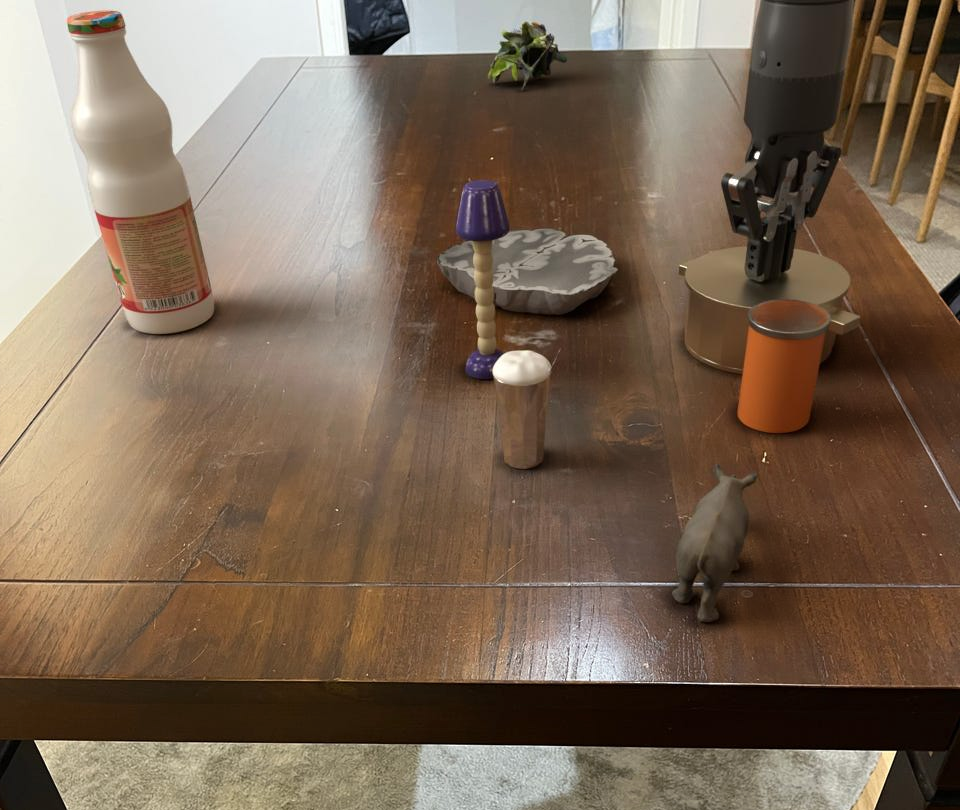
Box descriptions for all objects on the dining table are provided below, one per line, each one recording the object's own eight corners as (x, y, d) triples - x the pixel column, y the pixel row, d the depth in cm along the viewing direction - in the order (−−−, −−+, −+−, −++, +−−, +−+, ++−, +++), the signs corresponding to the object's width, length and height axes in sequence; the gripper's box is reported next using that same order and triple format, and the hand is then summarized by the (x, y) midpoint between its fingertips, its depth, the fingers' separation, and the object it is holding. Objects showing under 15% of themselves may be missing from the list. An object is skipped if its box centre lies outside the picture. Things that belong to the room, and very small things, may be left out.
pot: (727, 293, 106) (734, 235, 102) (886, 352, 94) (901, 289, 90) (634, 333, 100) (638, 273, 96) (792, 401, 88) (803, 337, 84)
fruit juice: (181, 341, 103) (100, 28, 85) (109, 329, 106) (15, 24, 88) (233, 305, 110) (169, 6, 91) (163, 294, 113) (87, 3, 94)
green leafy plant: (536, 113, 181) (576, 49, 174) (525, 117, 172) (567, 50, 165) (485, 72, 179) (524, 6, 173) (472, 74, 170) (512, 4, 164)
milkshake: (552, 478, 81) (552, 362, 74) (489, 469, 82) (483, 355, 76) (567, 449, 84) (568, 336, 77) (506, 441, 85) (502, 329, 79)
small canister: (767, 390, 90) (782, 292, 84) (827, 416, 86) (847, 315, 80) (719, 415, 87) (731, 315, 81) (778, 443, 83) (796, 340, 77)
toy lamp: (458, 361, 97) (446, 180, 86) (504, 353, 98) (498, 172, 87) (473, 383, 94) (462, 197, 82) (520, 374, 94) (516, 188, 83)
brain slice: (649, 273, 111) (651, 246, 109) (571, 333, 101) (571, 304, 99) (500, 243, 120) (500, 217, 118) (414, 295, 109) (412, 268, 107)
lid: (754, 245, 101) (762, 181, 97) (881, 286, 92) (897, 218, 88) (650, 287, 95) (655, 220, 91) (777, 336, 86) (788, 265, 82)
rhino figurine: (760, 515, 76) (772, 445, 72) (723, 628, 66) (734, 555, 62) (706, 505, 77) (714, 436, 73) (662, 616, 68) (669, 543, 64)
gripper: (779, 86, 76) (749, 308, 87) (889, 53, 82) (848, 264, 93) (703, 71, 80) (684, 284, 92) (813, 40, 86) (783, 243, 98)
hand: (767, 273), depth 93 cm, fingers closed on lid, 2 cm apart
